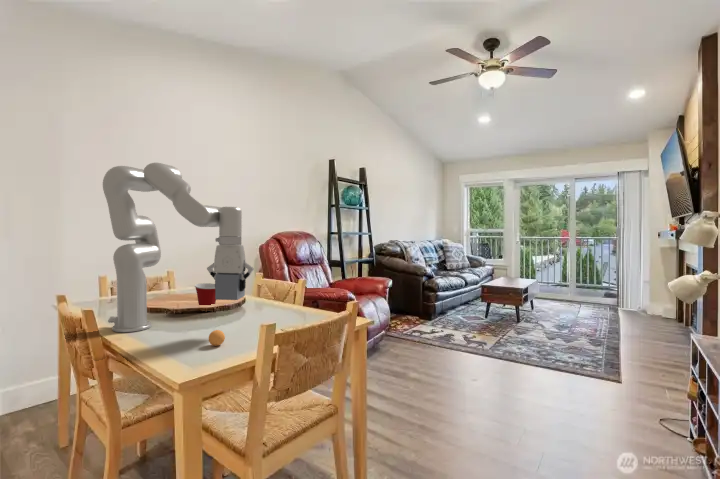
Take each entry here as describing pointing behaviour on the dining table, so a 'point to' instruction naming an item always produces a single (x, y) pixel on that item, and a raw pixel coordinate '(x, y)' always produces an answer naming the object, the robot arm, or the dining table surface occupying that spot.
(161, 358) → the dining table surface
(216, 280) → the grey matte cube
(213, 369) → the dining table surface
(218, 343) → the ball
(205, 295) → the plastic cup
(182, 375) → the dining table surface
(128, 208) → the robot arm
